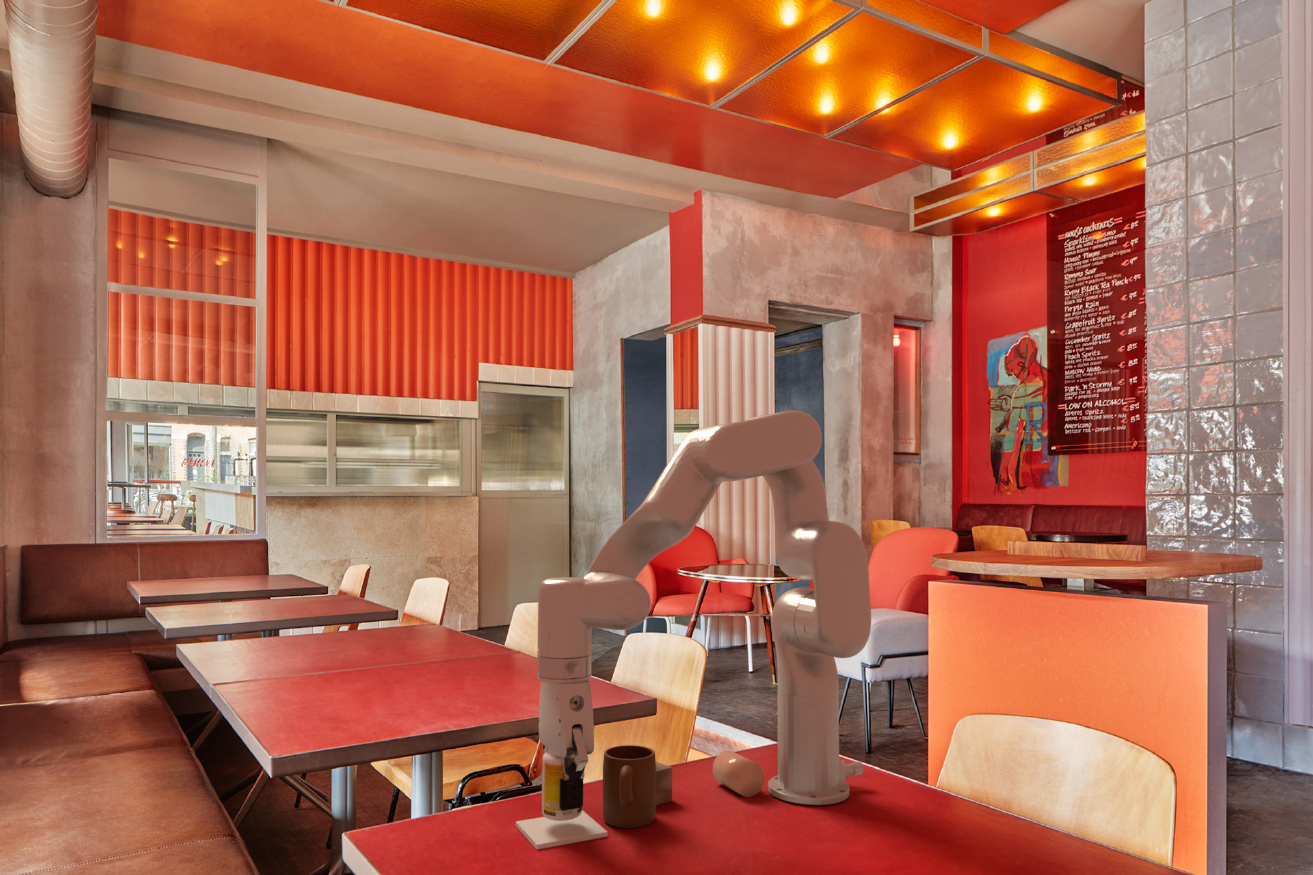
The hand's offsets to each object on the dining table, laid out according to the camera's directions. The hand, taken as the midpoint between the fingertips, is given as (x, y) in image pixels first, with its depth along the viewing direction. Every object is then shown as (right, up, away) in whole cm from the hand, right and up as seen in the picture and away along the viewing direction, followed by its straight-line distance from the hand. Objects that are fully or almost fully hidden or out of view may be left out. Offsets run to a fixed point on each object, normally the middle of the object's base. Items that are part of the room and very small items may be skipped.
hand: (562, 799), depth 116 cm
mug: (+9, -5, +2) cm, 10 cm away
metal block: (+12, -5, +12) cm, 18 cm away
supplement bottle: (0, -2, 0) cm, 2 cm away
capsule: (+24, -2, +16) cm, 29 cm away
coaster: (0, -4, 0) cm, 4 cm away
